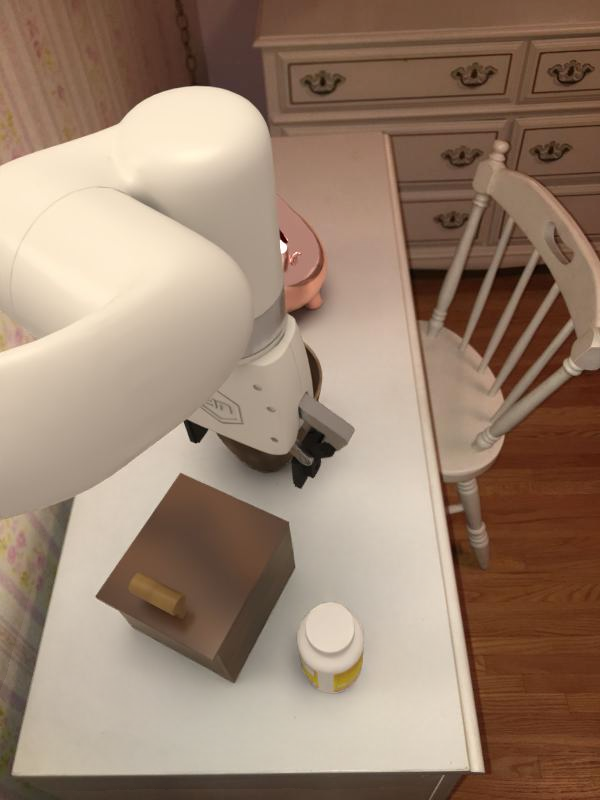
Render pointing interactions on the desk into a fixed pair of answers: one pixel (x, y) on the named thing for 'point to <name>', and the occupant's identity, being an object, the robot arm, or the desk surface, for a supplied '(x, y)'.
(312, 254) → the piggy bank
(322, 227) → the desk surface
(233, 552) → the brown wooden box lid
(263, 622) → the chest
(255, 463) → the flower pot
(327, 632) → the supplement bottle
